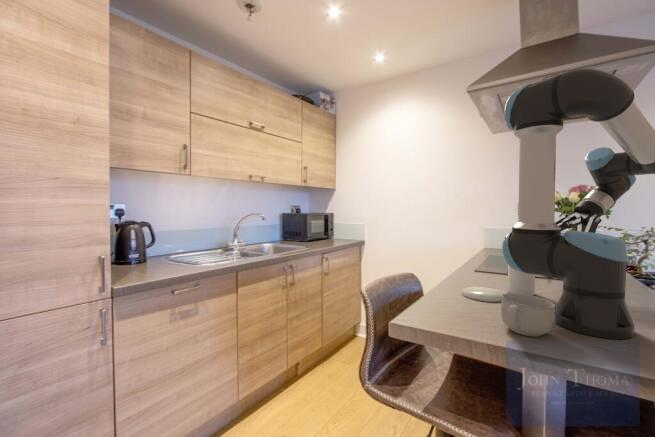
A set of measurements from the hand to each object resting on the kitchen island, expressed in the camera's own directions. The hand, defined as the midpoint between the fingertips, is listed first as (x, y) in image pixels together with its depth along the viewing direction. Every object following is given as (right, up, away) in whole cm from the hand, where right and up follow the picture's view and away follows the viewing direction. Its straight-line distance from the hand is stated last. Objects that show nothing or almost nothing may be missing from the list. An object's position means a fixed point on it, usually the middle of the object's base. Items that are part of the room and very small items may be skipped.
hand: (548, 250), depth 107 cm
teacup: (-31, -16, -34) cm, 48 cm away
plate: (-24, -15, -3) cm, 28 cm away
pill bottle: (-9, -15, 0) cm, 18 cm away
